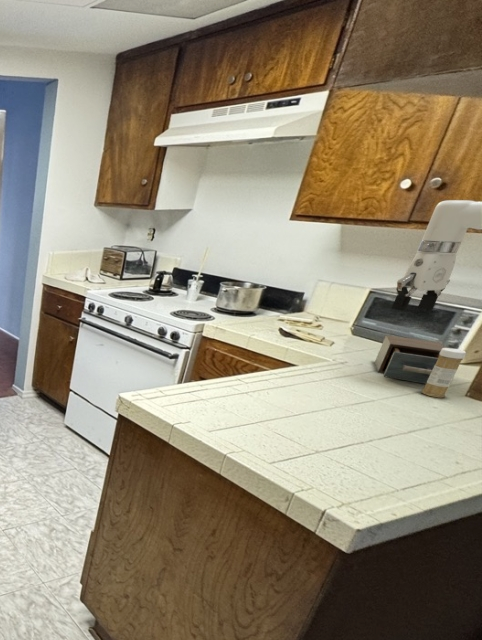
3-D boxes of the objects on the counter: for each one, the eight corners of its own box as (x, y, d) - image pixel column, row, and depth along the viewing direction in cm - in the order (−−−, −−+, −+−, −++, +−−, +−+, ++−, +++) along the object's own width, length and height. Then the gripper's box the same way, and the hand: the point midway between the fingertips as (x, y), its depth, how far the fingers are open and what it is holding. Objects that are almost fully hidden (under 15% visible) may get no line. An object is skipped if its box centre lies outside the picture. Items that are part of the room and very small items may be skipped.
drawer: (439, 389, 134) (452, 364, 131) (385, 380, 141) (396, 355, 138) (430, 374, 147) (441, 350, 144) (380, 366, 154) (390, 343, 151)
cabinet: (434, 381, 143) (448, 351, 140) (377, 372, 151) (390, 343, 147) (427, 370, 154) (440, 342, 150) (374, 361, 161) (386, 335, 157)
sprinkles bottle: (443, 395, 133) (466, 350, 128) (444, 399, 130) (467, 353, 125) (420, 390, 136) (441, 346, 131) (420, 394, 133) (442, 349, 128)
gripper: (430, 249, 125) (403, 312, 131) (479, 249, 128) (450, 311, 134) (397, 247, 132) (373, 307, 138) (445, 247, 135) (419, 306, 141)
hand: (411, 309), depth 136 cm, fingers open, 9 cm apart
